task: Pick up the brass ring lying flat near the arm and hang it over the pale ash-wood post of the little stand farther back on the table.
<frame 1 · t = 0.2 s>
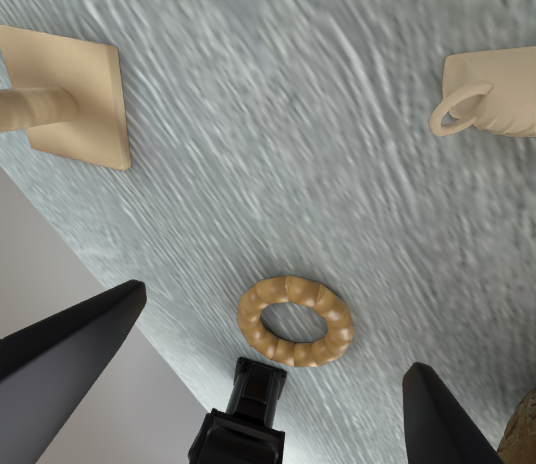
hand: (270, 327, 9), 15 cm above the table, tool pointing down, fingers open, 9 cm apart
ring: (292, 324, 28), point 1 cm above the table
stand: (75, 102, 22), on the table
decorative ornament: (489, 87, 16), on the table
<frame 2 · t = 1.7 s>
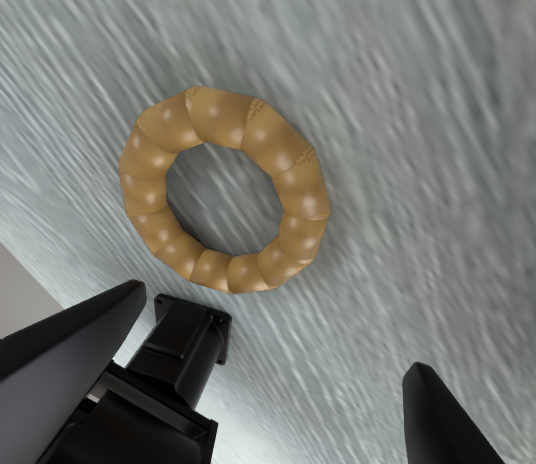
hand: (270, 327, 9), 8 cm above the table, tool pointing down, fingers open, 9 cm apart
ring: (220, 207, 15), point 1 cm above the table
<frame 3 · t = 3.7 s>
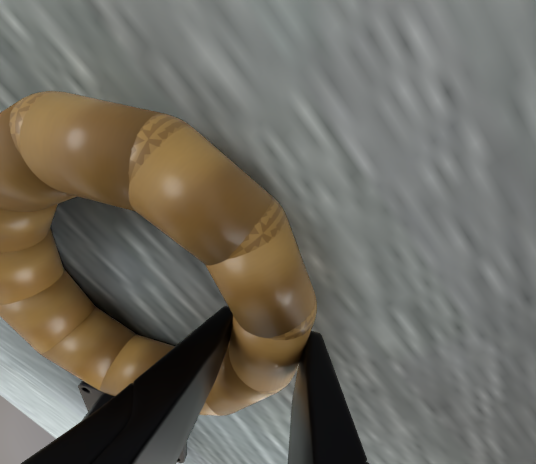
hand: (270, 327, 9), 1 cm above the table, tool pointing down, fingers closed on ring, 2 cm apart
ring: (135, 292, 9), point 1 cm above the table, touching gripper
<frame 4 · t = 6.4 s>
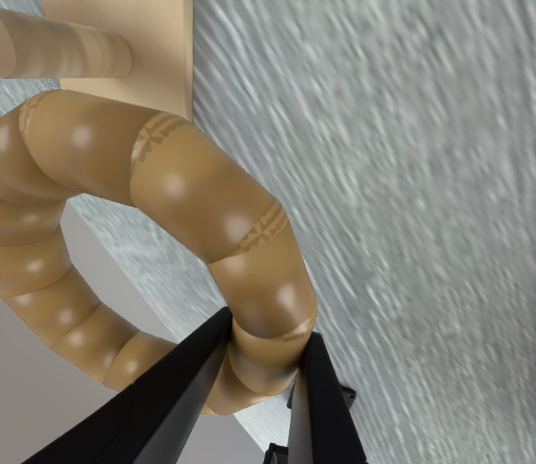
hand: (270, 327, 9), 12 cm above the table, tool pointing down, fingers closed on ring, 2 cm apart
ring: (138, 288, 9), point 12 cm above the table, touching gripper
stand: (128, 56, 17), on the table
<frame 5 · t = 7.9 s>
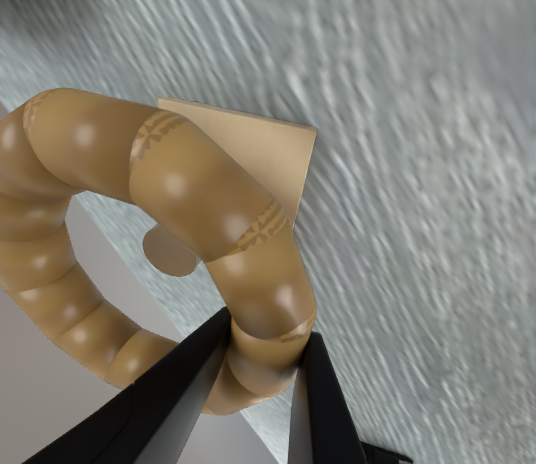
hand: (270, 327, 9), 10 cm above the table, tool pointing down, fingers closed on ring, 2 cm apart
ring: (139, 286, 9), point 10 cm above the table, touching gripper
stand: (234, 184, 18), on the table
when the fingers open (6 cm above the table, at t = 9.3 s): ring drops 4 cm, resting on stand.
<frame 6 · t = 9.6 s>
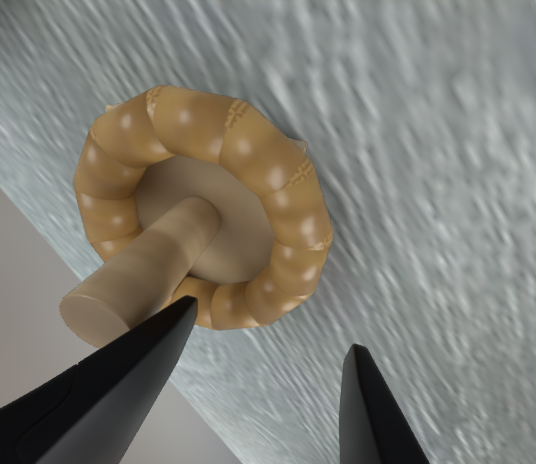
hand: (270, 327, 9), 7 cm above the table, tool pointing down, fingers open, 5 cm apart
ring: (200, 231, 13), point 2 cm above the table, touching stand
stand: (208, 207, 15), on the table
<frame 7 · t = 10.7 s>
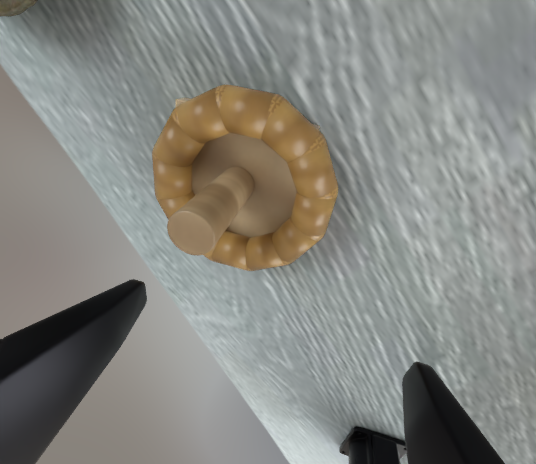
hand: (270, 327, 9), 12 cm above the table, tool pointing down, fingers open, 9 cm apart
ring: (240, 191, 17), point 2 cm above the table, touching stand
stand: (242, 177, 20), on the table
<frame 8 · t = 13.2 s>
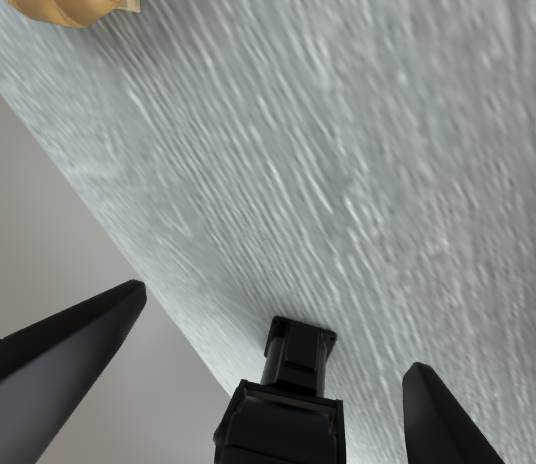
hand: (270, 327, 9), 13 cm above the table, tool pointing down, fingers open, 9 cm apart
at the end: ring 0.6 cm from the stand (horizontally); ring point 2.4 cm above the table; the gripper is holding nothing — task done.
